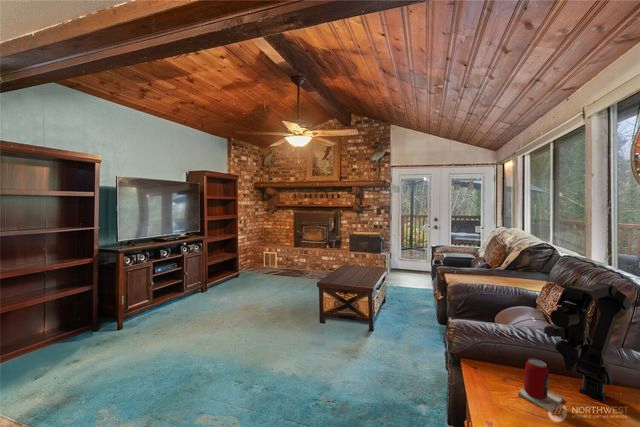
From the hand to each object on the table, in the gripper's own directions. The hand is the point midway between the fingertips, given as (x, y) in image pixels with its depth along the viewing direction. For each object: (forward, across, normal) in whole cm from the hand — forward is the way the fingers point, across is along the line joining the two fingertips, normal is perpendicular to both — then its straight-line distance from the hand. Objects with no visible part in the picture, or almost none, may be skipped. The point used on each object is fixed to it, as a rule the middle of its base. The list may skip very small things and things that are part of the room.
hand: (572, 366), depth 103 cm
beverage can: (+12, +8, -8) cm, 16 cm away
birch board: (+13, +6, -7) cm, 16 cm away
